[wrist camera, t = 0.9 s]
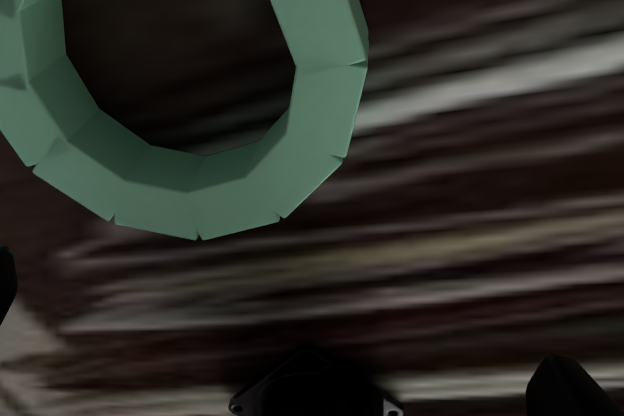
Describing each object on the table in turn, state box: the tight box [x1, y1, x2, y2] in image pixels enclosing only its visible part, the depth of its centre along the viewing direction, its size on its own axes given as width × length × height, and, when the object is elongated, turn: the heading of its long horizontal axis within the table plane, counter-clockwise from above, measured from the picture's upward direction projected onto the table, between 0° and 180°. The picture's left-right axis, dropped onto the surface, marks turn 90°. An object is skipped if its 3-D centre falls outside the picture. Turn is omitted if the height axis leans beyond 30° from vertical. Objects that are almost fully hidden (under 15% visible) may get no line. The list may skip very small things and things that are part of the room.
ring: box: [0, 0, 369, 240], centre depth 18 cm, size 12×12×3 cm
